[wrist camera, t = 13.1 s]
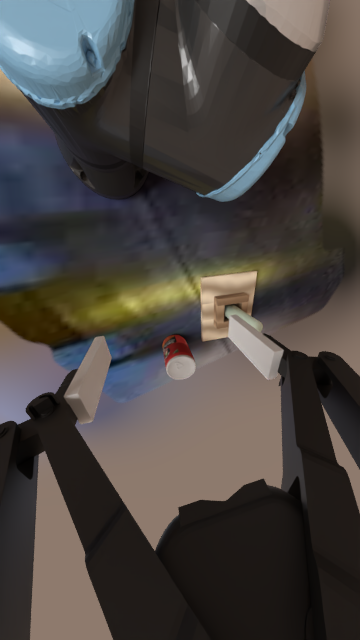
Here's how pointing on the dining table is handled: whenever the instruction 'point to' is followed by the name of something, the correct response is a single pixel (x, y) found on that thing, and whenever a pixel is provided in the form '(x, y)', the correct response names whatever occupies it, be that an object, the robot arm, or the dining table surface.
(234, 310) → the peg
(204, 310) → the socket board
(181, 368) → the canned food
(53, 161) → the dining table surface
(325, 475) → the robot arm
